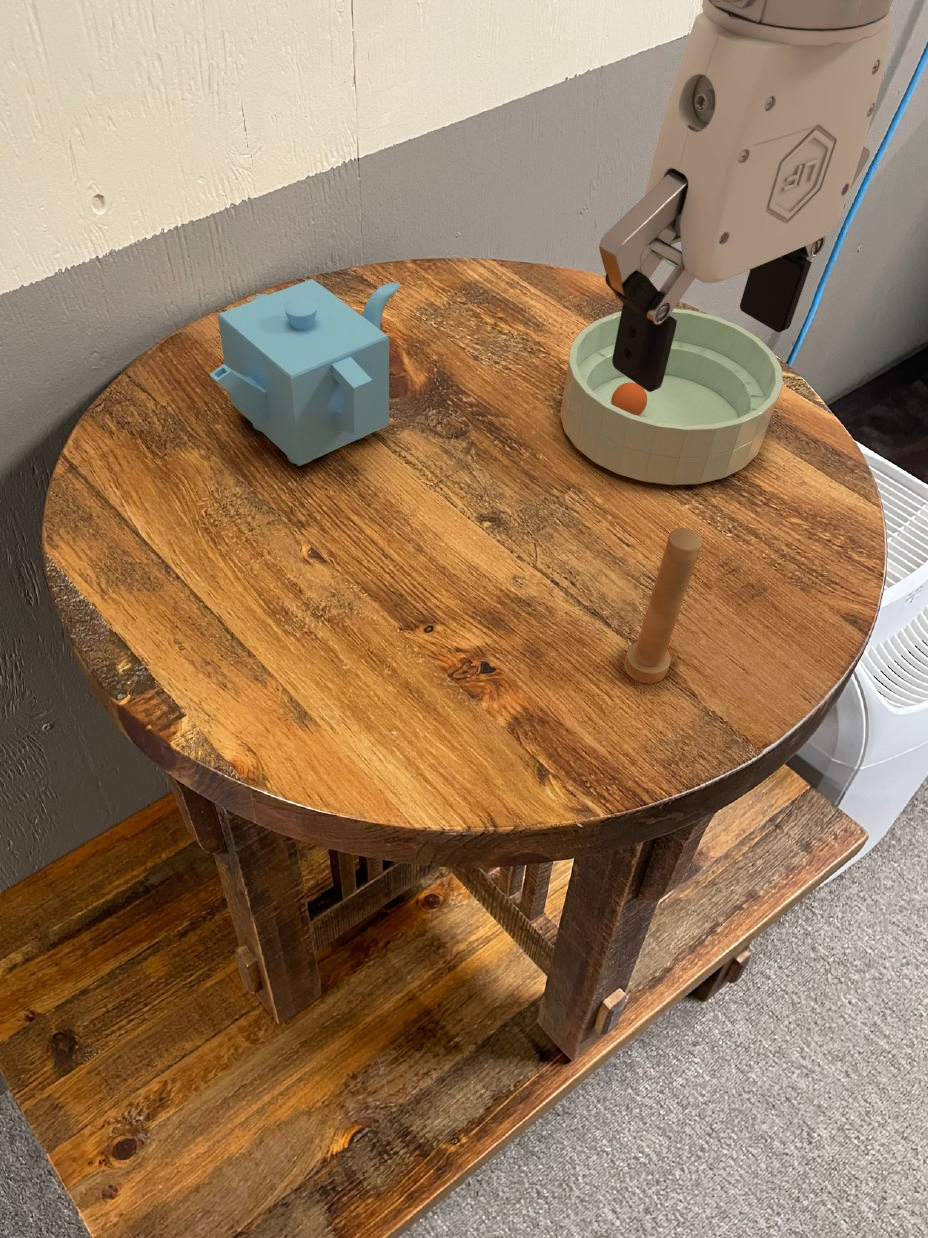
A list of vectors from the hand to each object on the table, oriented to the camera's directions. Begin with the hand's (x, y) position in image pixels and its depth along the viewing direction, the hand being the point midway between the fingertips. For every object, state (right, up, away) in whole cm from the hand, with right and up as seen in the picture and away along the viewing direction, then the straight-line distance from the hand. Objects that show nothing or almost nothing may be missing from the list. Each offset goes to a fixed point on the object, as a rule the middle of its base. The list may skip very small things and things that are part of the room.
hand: (701, 348), depth 54 cm
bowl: (+6, +5, +32) cm, 33 cm away
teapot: (-23, +5, +32) cm, 40 cm away
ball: (+3, +7, +31) cm, 32 cm away
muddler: (+1, -17, +15) cm, 23 cm away
